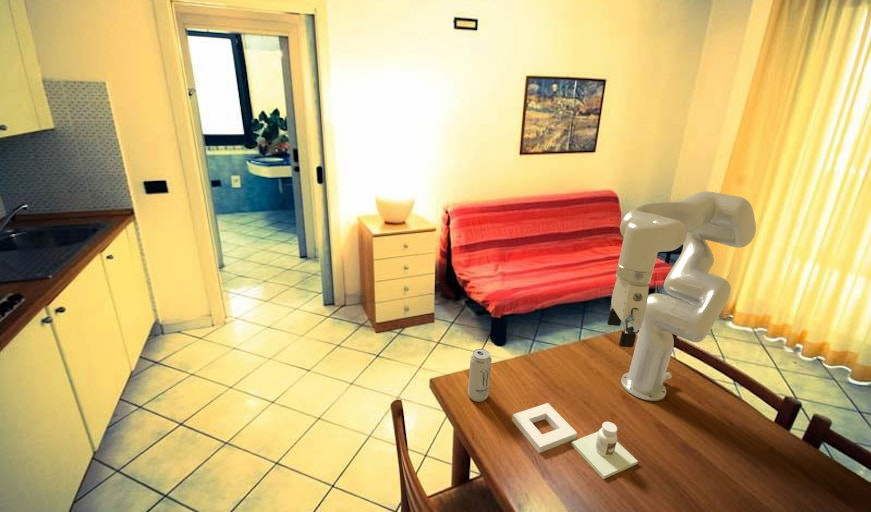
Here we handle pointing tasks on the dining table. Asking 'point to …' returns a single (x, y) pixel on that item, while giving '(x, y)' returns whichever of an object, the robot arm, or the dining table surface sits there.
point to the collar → (547, 440)
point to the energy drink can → (479, 375)
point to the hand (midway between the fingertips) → (619, 335)
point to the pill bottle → (606, 439)
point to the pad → (602, 463)
